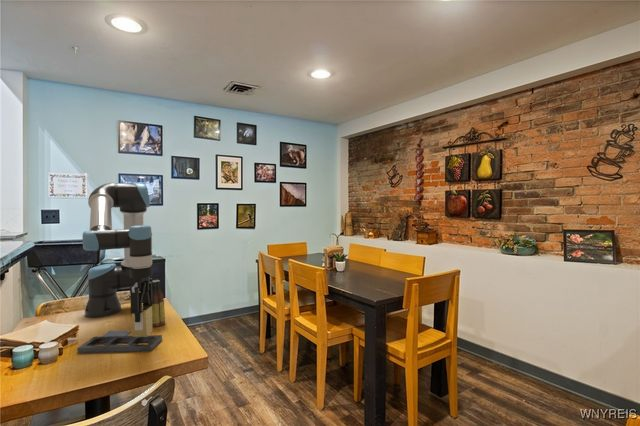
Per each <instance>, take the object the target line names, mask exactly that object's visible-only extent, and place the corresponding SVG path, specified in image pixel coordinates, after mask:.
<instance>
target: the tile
mask: <svg viewBox="0 0 640 426" xmlns="http://www.w3.org/2000/svg"><path fill="white" fill-rule="evenodd" d="M131 333H132V330H131V329H130V330H129V329H128V330H125V329H124V330H109V331H107V332H106V333H104V334H103V335H101V336H100V337H107V336H129V334H131Z"/></svg>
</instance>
